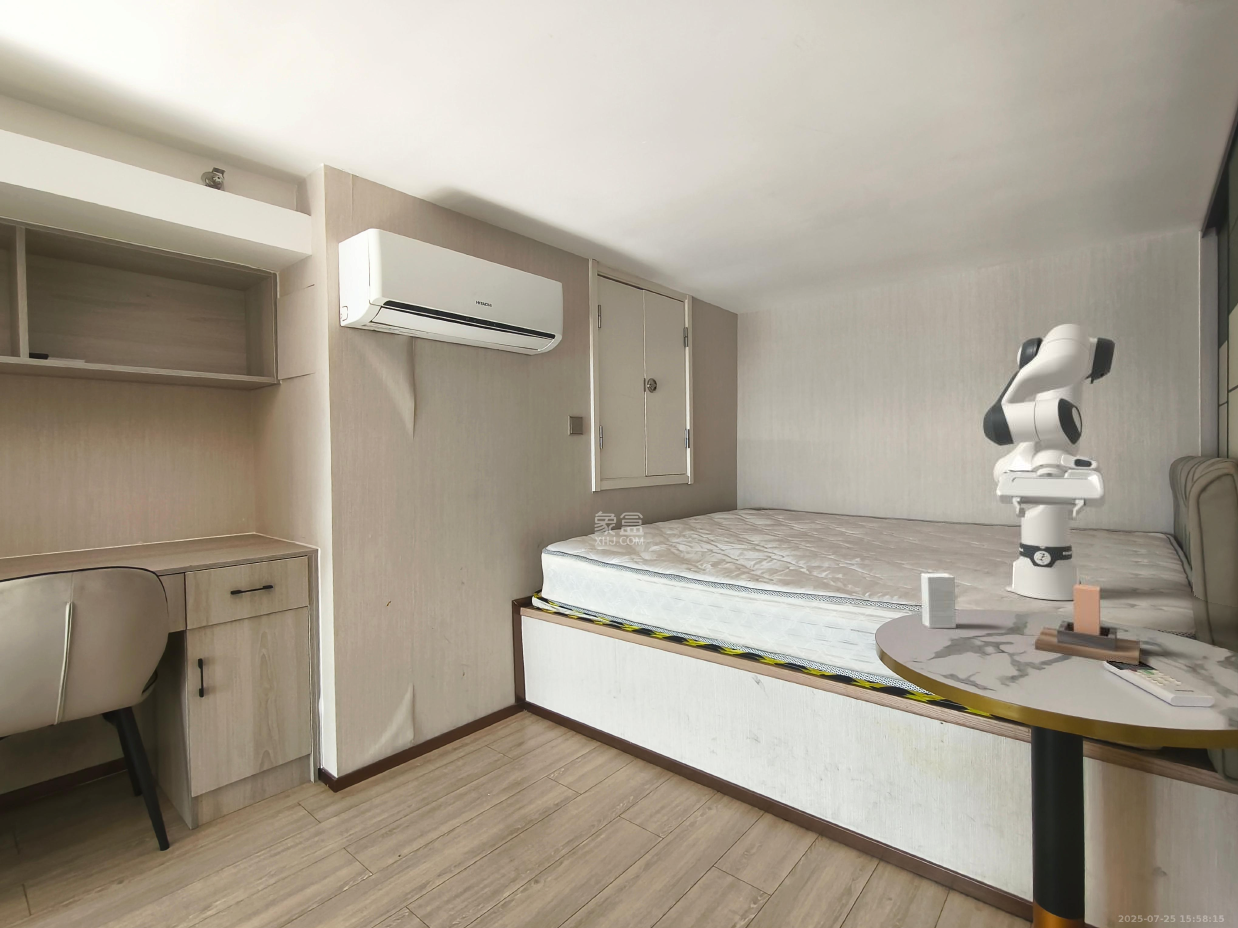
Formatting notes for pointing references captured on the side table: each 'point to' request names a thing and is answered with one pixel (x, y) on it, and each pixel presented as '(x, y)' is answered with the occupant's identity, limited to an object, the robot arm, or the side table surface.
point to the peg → (1087, 609)
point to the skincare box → (938, 600)
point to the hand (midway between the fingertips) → (1045, 517)
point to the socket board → (1088, 644)
